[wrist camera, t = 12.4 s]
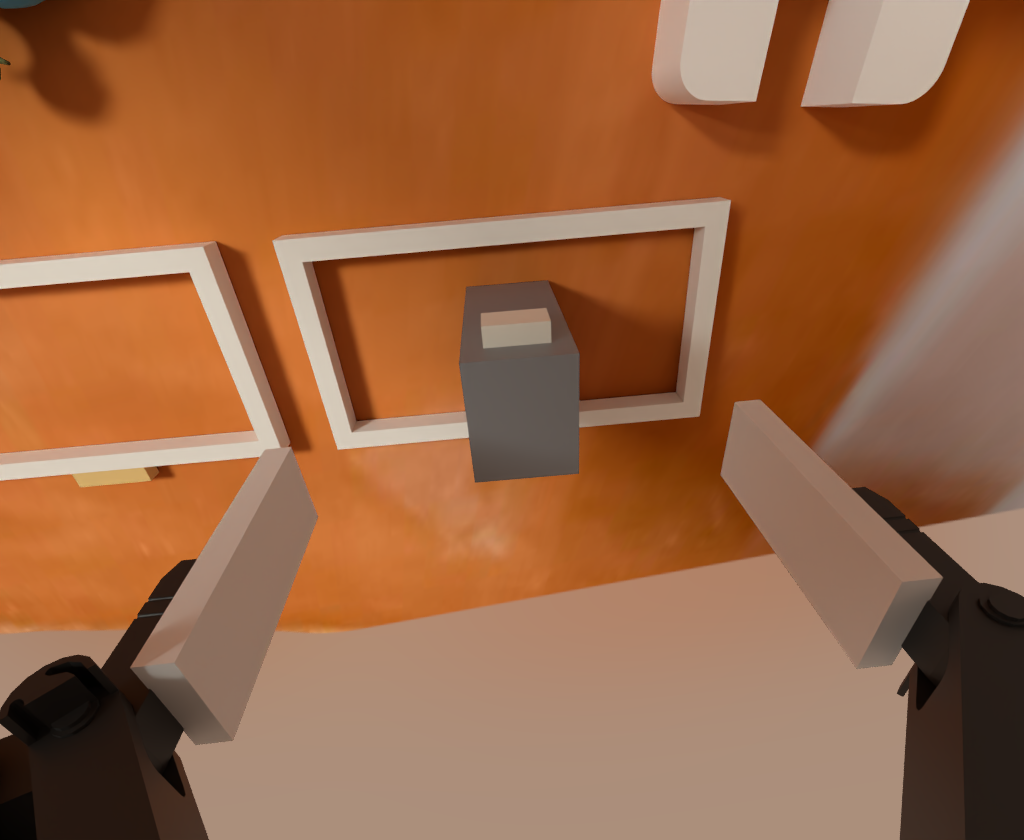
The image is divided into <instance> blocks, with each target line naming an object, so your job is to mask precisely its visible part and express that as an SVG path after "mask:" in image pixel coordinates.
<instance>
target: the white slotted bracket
mask: <svg viewBox="0 0 1024 840" xmlns="http://www.w3.org/2000/svg"><path fill="white" fill-rule="evenodd" d="M969 1H970V0H829V3H828V6H827V10H826V14H825V18H824V21H823V25H822V29H821V32H820V36H819V40H818V44H817V47H816V51H815V55H814V59H813V62H812V66H811V70H810V74H809V77H808V81H807V85H806V89H805V92H804V96H803V100H802V103H801V107H857V106H875V105H893V104H905V103H909V102H912V101H914V100H916V99H918V98H919V97H921V96H922V95H923V94H925V93H926V92H927V91H928V90H929V89H930V88H931V87H932V86H933V85H934V83H935V82H936V81H937V79H938V78H939V76H940V75H941V73H942V71H943V69H944V67H945V64H946V62H947V59H948V56H949V54H950V51H951V48H952V46H953V43H954V41H955V38H956V35H957V33H958V30H959V27H960V25H961V22H962V20H963V17H964V14H965V12H966V9H967V6H968V4H969ZM778 2H779V0H661V5H660V12H659V20H658V28H657V35H656V43H655V50H654V58H653V66H652V82H653V86H654V88H655V91H656V92H657V94H658V95H659V97H660V98H661V99H663V100H664V101H666V102H668V103H671V104H692V105H723V104H734V103H744V102H755V101H756V99H757V94H758V90H759V86H760V81H761V77H762V72H763V68H764V63H765V59H766V55H767V50H768V46H769V41H770V37H771V33H772V28H773V24H774V19H775V15H776V11H777V6H778Z"/></svg>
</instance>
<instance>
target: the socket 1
mask: <svg viewBox="0 0 1024 840" xmlns="http://www.w3.org/2000/svg"><path fill="white" fill-rule="evenodd" d="M186 272H189V273H190V275H191V277H192V280H193V282H194V285H195V287H196V290H197V292H198V294H199V297H200V299H201V302H202V304H203V307H204V309H205V312H206V314H207V316H208V319H209V321H210V324H211V326H212V329H213V331H214V333H215V336H216V338H217V341H218V343H219V346H220V348H221V350H222V353H223V355H224V358H225V360H226V363H227V365H228V367H229V370H230V372H231V375H232V377H233V380H234V382H235V384H236V387H237V389H238V392H239V394H240V397H241V399H242V401H243V404H244V406H245V409H246V411H247V414H248V416H249V418H250V421H251V423H252V426H253V428H254V431H243V432H232V433H221V434H210V435H199V436H188V437H177V438H166V439H155V440H144V441H133V442H122V443H111V444H100V445H89V446H78V447H67V448H56V449H46V450H35V451H24V452H13V453H2V454H0V481H1V480H12V479H22V478H33V477H44V476H55V475H66V474H72V475H73V477H74V478H75V480H76V481H77V483H78V484H79V486H80V487H89V486H100V485H111V484H121V483H132V482H143V481H152V479H153V478H154V477H155V476H156V475H157V474H158V473H159V471H158V469H157V467H156V466H164V465H175V464H186V463H197V462H208V461H219V460H230V459H241V458H252V457H260V456H261V455H262V453H263V452H264V450H265V449H275V448H285V447H288V446H289V444H290V443H291V442H290V440H289V437H288V434H287V431H286V429H285V426H284V423H283V421H282V418H281V415H280V413H279V410H278V407H277V405H276V402H275V399H274V396H273V394H272V391H271V388H270V386H269V383H268V380H267V378H266V375H265V372H264V370H263V367H262V364H261V362H260V359H259V356H258V353H257V351H256V348H255V345H254V343H253V340H252V337H251V335H250V332H249V329H248V327H247V324H246V321H245V318H244V316H243V313H242V310H241V308H240V305H239V302H238V300H237V297H236V294H235V292H234V289H233V286H232V283H231V281H230V278H229V275H228V273H227V270H226V267H225V265H224V262H223V259H222V257H221V254H220V251H219V248H218V246H217V243H216V241H213V242H201V243H190V244H178V245H167V246H156V247H144V248H133V249H122V250H110V251H99V252H87V253H76V254H65V255H53V256H42V257H30V258H19V259H8V260H0V289H5V288H16V287H27V286H39V285H50V284H61V283H73V282H84V281H95V280H107V279H118V278H129V277H141V276H152V275H163V274H175V273H186Z"/></svg>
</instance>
